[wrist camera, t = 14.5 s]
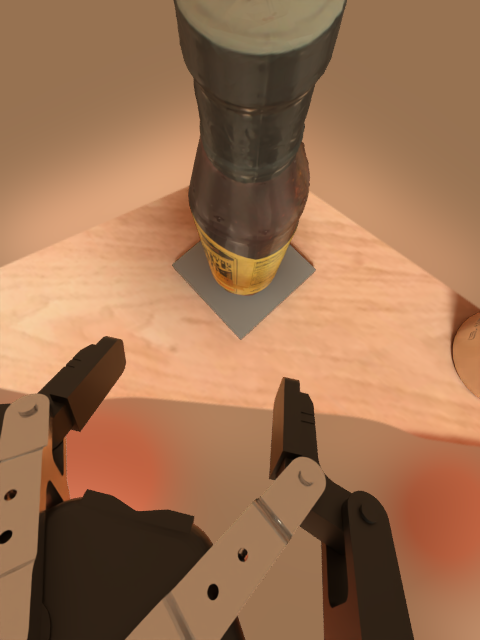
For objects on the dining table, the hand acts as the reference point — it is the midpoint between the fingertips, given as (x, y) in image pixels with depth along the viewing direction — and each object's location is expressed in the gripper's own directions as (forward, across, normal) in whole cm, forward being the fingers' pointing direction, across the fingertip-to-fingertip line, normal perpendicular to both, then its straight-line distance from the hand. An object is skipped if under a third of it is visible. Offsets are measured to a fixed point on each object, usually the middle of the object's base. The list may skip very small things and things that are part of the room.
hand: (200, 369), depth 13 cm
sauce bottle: (+15, 0, +1) cm, 15 cm away
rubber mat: (+16, 0, +2) cm, 16 cm away
